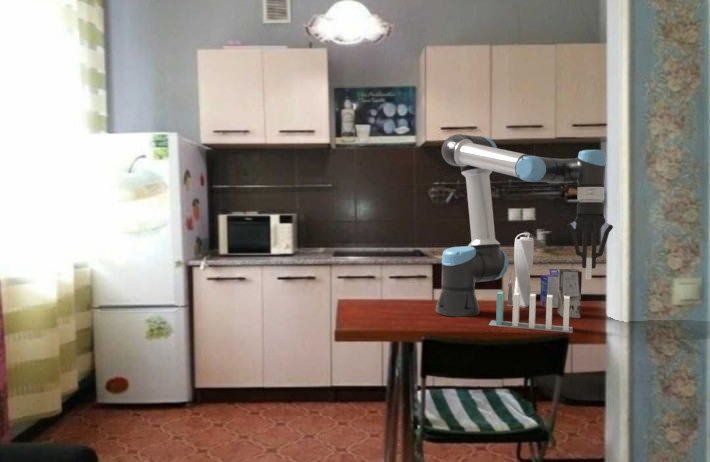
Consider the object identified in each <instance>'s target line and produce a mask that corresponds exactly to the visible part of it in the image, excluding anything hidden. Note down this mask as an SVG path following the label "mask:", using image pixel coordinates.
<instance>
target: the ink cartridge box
mask: <svg viewBox="0 0 710 462" xmlns="http://www.w3.org/2000/svg"><path fill="white" fill-rule="evenodd" d="M548 271H549V274H541V275H540V307H543V308H545V309H546V304H547V295H553V298H552V309H558V281H559V269H558V268H548ZM552 271H555V272H552Z"/></svg>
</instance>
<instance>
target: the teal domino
mask: <svg viewBox="0 0 710 462" xmlns="http://www.w3.org/2000/svg"><path fill="white" fill-rule="evenodd" d="M504 292H505V291H500V290H499V291H498V292H497V293H496V312H495V313H496V315H495V316H496V317H495V318H496V319H495V320H496V325H502V323H503V321H504V294H505V293H504Z"/></svg>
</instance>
